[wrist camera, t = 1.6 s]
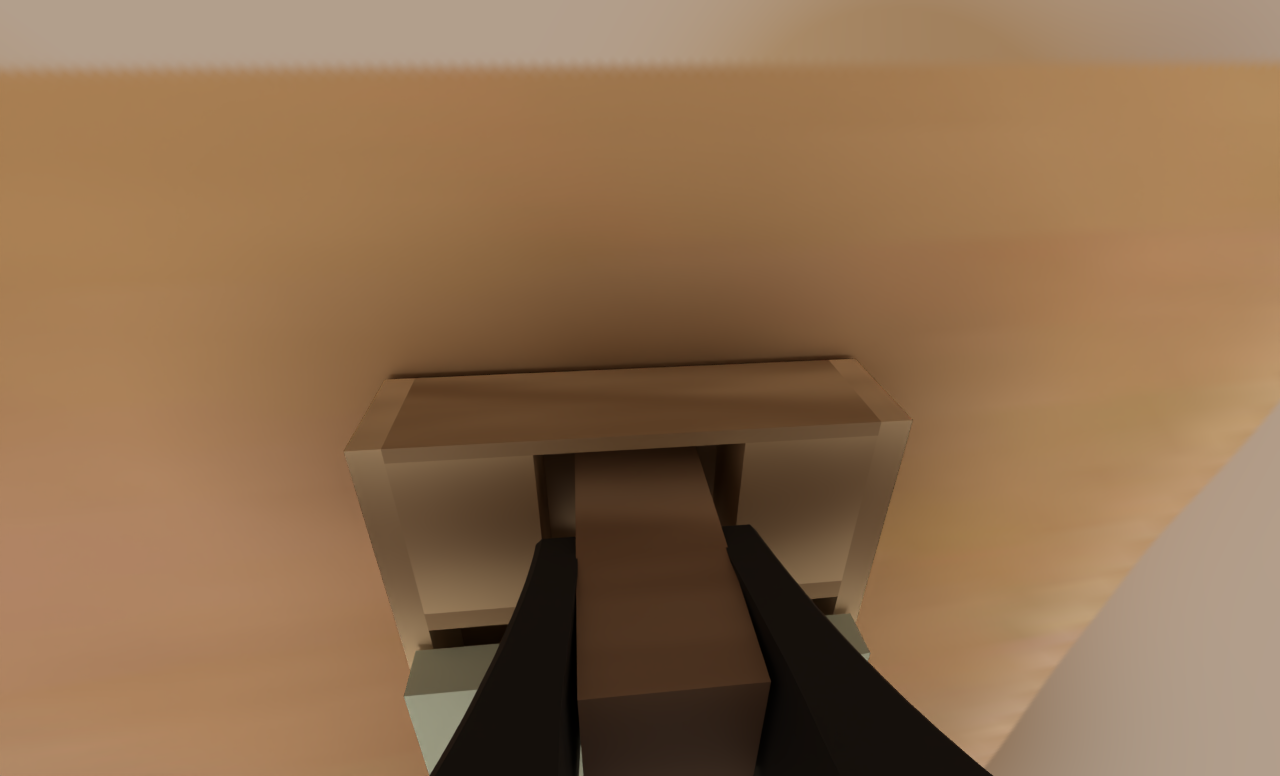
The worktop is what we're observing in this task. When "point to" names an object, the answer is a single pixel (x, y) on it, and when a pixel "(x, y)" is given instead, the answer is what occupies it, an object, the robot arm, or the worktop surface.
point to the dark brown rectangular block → (661, 623)
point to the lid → (456, 673)
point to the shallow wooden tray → (608, 421)
